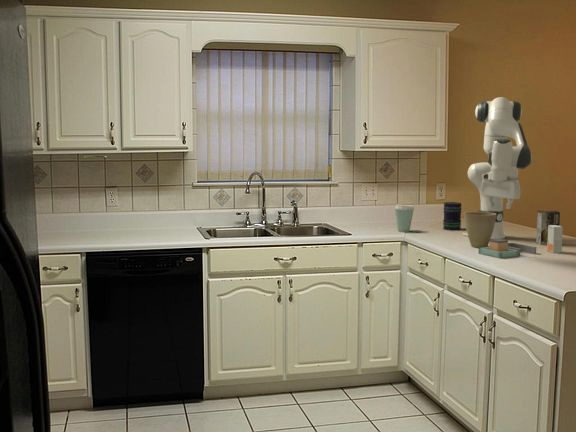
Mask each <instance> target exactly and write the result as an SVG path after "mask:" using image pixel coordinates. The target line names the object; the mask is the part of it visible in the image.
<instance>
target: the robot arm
mask: <svg viewBox="0 0 576 432" xmlns="http://www.w3.org/2000/svg"><path fill="white" fill-rule="evenodd" d="M522 114H523V108H522V104H521V103H520V102H519V101H515V100H512V101H510V100H509V99H508V98H506V97H503V96H500V97H495V98H494V99H493V100H488V101H487V100H483V101H479V103H477V104H476V106H475V110H474V115H475V118H476V120H477V121H478V122H480V123H485V127H484V135H483V136H484V137H483V150H484V152H485V154H487V156H488V159H487V162H486V161H485V162H483V161H482V162H475V163H472V164H471V165H470V166H468V167H469V168H468V169H467V177H468V179H469V181H470V182H471V183H473V184H474V186H475V187H476V188H477V190H478V192H479V197H480V209H479V210H477V211H476V212H489V213H495V214H496V220H495V225H494V229H493V233H492V236H491V239H490V240H492V239H505V238H506V235H505V229H504V220H503V219H504V210H503V209H504V206H505V209H506V210H510V209H511V207H512V204H513V202H514V200H519V199H520V198H521V185H520V183H521V182H520V180H519V179H518V176H519V170H521V169H522V170H525V169H526V168H527V167H529V166H530V165H531V163H532V152H531V149H530V147H529V144H528V142H527V138H526V135H525V132H524V129H523V127H522V124H521V122H519V121H520V120H521V118H522ZM508 137H509V138H512V139H513V140H514V141H515V144H516V146H513V142H512V140H511V139H509V138H508ZM504 199H506V201H507V203H506V204H505V205H504ZM462 235H463V236H467V237H468V234H467V231H465V232H464V231H463V232H462Z"/></svg>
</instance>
